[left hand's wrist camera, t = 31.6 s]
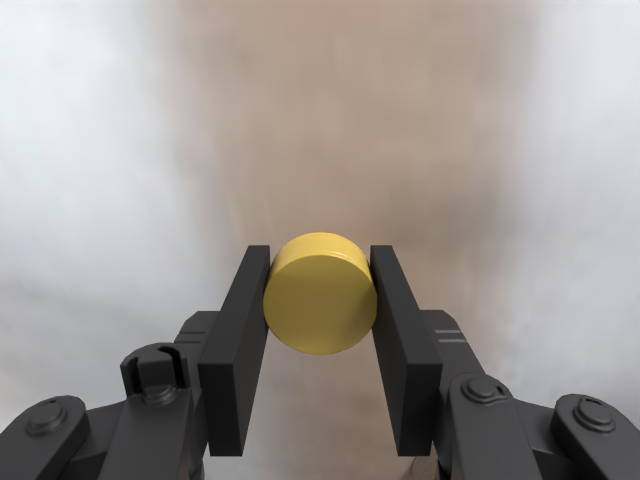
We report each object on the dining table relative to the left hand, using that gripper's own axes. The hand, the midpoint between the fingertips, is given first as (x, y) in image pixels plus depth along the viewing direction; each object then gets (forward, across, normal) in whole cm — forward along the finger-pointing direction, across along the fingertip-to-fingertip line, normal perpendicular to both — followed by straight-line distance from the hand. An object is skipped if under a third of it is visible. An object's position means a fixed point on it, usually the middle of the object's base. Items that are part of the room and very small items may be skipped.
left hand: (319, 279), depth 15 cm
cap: (-2, 0, 0) cm, 2 cm away
